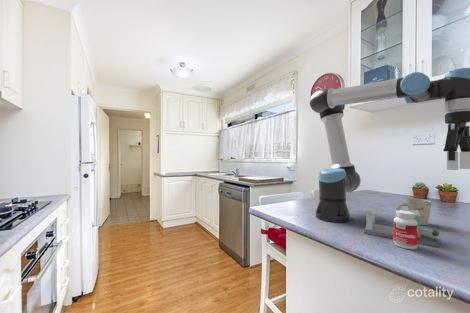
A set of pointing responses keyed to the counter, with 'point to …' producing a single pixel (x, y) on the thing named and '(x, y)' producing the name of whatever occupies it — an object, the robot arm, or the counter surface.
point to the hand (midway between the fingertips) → (458, 169)
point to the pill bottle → (405, 230)
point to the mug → (418, 208)
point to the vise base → (390, 229)
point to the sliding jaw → (423, 230)
